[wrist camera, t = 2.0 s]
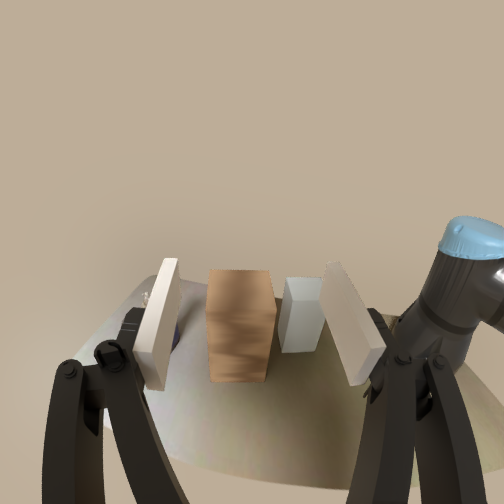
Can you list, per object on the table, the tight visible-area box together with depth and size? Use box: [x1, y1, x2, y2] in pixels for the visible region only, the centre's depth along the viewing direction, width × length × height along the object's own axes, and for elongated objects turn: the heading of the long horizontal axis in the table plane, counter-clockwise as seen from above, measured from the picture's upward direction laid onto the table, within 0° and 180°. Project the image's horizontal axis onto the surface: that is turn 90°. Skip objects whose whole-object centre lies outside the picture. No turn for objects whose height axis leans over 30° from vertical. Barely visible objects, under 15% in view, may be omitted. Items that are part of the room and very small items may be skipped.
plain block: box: [206, 270, 277, 382], centre depth 33 cm, size 7×7×13 cm
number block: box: [277, 277, 326, 353], centre depth 38 cm, size 5×5×10 cm
